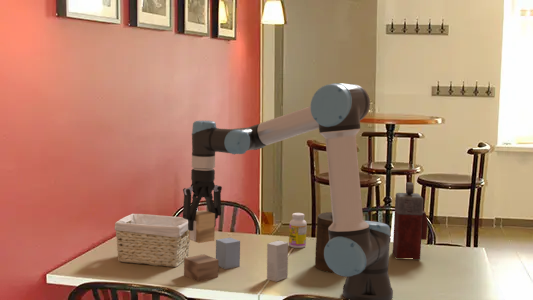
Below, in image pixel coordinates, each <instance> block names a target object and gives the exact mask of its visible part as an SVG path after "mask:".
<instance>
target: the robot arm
mask: <svg viewBox="0 0 533 300" xmlns="http://www.w3.org/2000/svg"><path fill="white" fill-rule="evenodd" d="M370 107H371V99H370V96H369V94H368V92H367V91H366V89H365V88H363V87H362V86H361V85H359V84H355V83H337V82H336V83H329V84H326V85H323V86H321V87H319V88H318V89H317V90H316V91H315V92H314V94H313V96H312V98H311V101H310V105H309V106H307V107H303V108H301V109H297V110H294V111H291V112H288V113H286V114H284V115H280V116H278V117H274V118H272V119H269V120H266V121H263V122H261V123H258V124H254V125H252V126H249V127H239V128H218V127H217V124H216V121H213V120H195V121H194V122H193V123H192V131H191V146H192V147H191V168H192V169H191V173H190V175H191V176H190V177H191V179H190V181H191V185H190V186H189V187H187V188H186V187H184V188H183V189H182V191H183V207H182V209H183V210H182V218H184V219H187V220H188V230H190V241H192V240H193V242H195V241H196V222H197V221H195V220H194V219H195V216H196V212H197V211H198V209H199V205H200V202H201V200H202V198H204V199H205V202H206V208H207V211H209V212H212V213H215V227H216V226H217V225H216V222H217V221H216V220H217V219H218V218H219V216H222V199H221V196H222V190H223V186H222V185H218V184H215V182H214V181H215V179H216V178H215V176H216V175H215V174H216V171H215V168H216V153H224V154H232V155H244V154H246V152H247V151H252V150H253V151H256V150H260V149H264V148H265V147H266V146H269V145H272V144H276V143H278V142H281V141H284V140H287V139H290V138H291V139H292V138H294V137H297V136H299V135H303V134H306V133H310V132H312V131H316V130H318V132H319V133H318V134H320V135H321V136H322V137H323V138H324V139H325V148H326V149H325V150H326V160H327V169H328V170H327V171H328V181H329V182H328V183H329V193H330V205H331V212H332V216H333V223H332V224H331V225H330V227H329V228H328V231H329V241H328V243H327V244H326V246H325V249H324V258H325V261H326V263H327V265H328V267H329V268H330V269H331V270H332V271H334V274H336V275H338V276H341V277H346V279H345V280H344V281H345V282H344V284H343V286H342V296H343V298H345V299H347V300H348V299H350V300H391V299H392V298H394V297H393V296H394V290H393V287H392V285H391V279H390V276H389V261H390V258H389V257H390V245H391V244H390V243H391V242H390V239H391V227H390V225H389V224H387V223H384V222H379V221H374V220H373V221H372V220H364V216H363V202H362V193H361V191H362V190H361V181H360V169H359V161H358V160H359V157H358V147H357V135H358V133H359V132H360V131H361V121H362V120H363V119H364V118H365V117H366V116H367V115H368V113H369V112H370V111H369V110H370ZM392 300H393V299H392Z"/></svg>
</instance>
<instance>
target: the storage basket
mask: <svg viewBox="0 0 533 300" xmlns="http://www.w3.org/2000/svg"><path fill="white" fill-rule="evenodd" d="M114 231H115V236H116V245H117V246H116V251H117V260H118V262H120V263H121V262H122V263H130V264H144V265H150V266H155V267H158V266H160V267H161V266H164V267H172V268H173V267H174V268H176V267H178V266H180V265H181V264H182V263H184V258H188V257H189V251H190V246H191V245H190V244H191V243H190V241H191V240H190V239H189V230H188V220H187V219H184V218H183V216H182V217H180V216H169V215H156V214H147V213H146V214H144V213H131V214H129V215H126V216H124V217H122V218H120V219H119V220H118V221H115V223H114Z"/></svg>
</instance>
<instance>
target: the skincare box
mask: <svg viewBox="0 0 533 300" xmlns="http://www.w3.org/2000/svg"><path fill="white" fill-rule="evenodd" d="M266 247H267V249H266V250H267V253H266V259H267V260H266V280H269V281H273V282H279V281H281V280H284V279H287V278H288V274H289V273H288V272H289V270H288V269H289V265H288V264H289V241H282V240H275V241H272V242H269V243H267V246H266Z"/></svg>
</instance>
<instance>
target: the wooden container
mask: <svg viewBox="0 0 533 300" xmlns="http://www.w3.org/2000/svg"><path fill="white" fill-rule="evenodd" d="M316 222H317V223H316V225H317V226H316V239H315V253H314V254H315V259H314V267H315V268H316V269H317V270H319V271H322V270H323V271H322V272H326V271H328V272H327V273H332V272H334V271H332V270H331V269H330V268H329V267H328V265H327V263H326V261H325V258H324V249H325V246H326V244H327V243H328V241H329V231H328V228H329V227H330V225H331V224H332V223H333V216H332V211H328V212H327V211H326V212H322V213H319V214H318V215H317V220H316Z"/></svg>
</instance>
